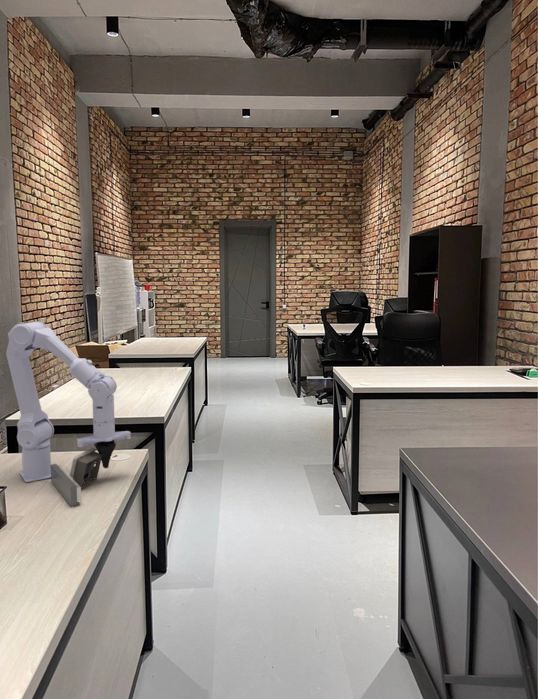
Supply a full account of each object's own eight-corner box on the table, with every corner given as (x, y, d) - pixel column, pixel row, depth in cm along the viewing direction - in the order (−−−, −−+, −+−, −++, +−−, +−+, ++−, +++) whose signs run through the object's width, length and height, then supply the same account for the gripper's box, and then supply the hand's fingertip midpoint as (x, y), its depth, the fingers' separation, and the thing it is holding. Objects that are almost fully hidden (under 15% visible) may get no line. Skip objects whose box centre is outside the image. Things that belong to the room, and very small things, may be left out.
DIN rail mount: (51, 482, 148) (50, 464, 147) (60, 480, 149) (59, 463, 149) (71, 506, 132) (70, 487, 131) (81, 504, 133) (80, 485, 133)
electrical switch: (86, 477, 152) (87, 446, 151) (102, 480, 151) (104, 449, 149) (66, 489, 143) (67, 456, 142) (83, 493, 142) (84, 459, 140)
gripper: (81, 427, 141) (83, 476, 143) (134, 419, 150) (135, 466, 151) (74, 421, 147) (76, 469, 149) (125, 414, 155) (126, 459, 157)
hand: (105, 467), depth 150 cm, fingers closed
